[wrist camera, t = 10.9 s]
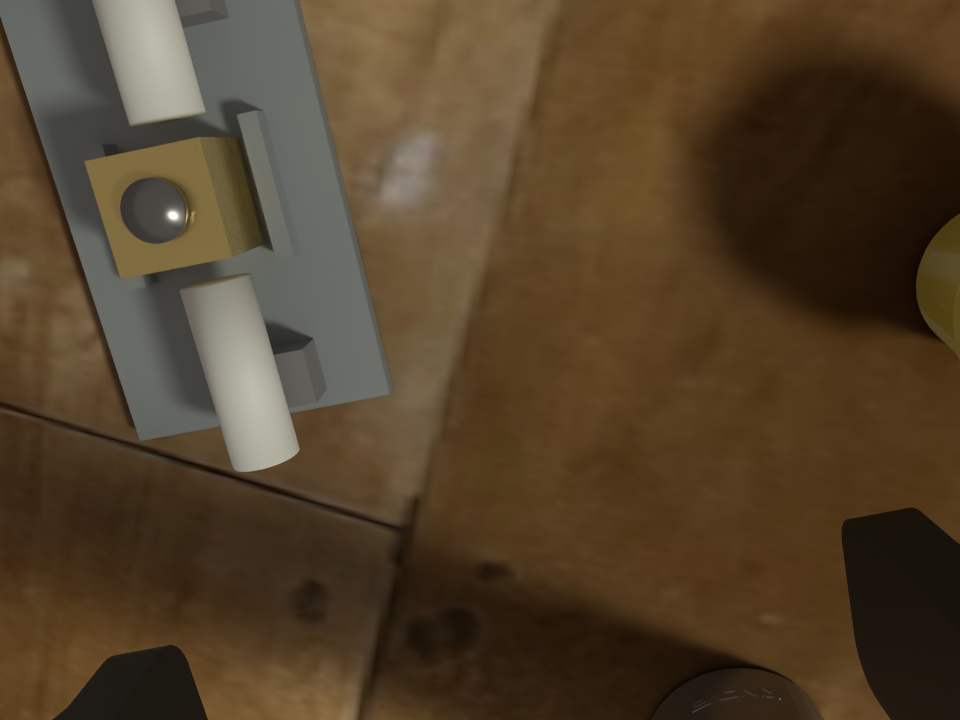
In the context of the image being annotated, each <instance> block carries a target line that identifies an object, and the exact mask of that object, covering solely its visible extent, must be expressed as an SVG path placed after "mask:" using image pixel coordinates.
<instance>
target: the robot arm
mask: <svg viewBox="0 0 960 720" xmlns="http://www.w3.org/2000/svg"><path fill="white" fill-rule="evenodd" d="M842 546H843V553H844V561H845V568H846V576H847V583H848V591H849V598H850V606H851V613H852V621H853V628H854V636H855V642H856V647H857V652H858V655H859V659H860V662H861V665H862V668H863V671H864V674H865V676H866V679H867V681H868V683H869V685H870V688H871V690H872V692H873V693H874V695H875V697H876V699H877V700H878V702H879V703H880V705H881V706H882V708H883V709H884V710H885V712H886V713H887V715H888V716H889V718H890V719H891V720H960V545H959V544H958V543H957V542H956V541H955V540H953V539H952V538H951V537H950V536H949V535H948V534H946V533H945V532H944V531H943V530H942V529H941V528H939V527H938V526H937V525H936V524H935V523H934V522H932V521H931V520H930V519H929V518H928V517H927V516H925V515H924V514H923V513H922V512H921V511H919V510H918V509H916V508H906V509H900V510H895V511H890V512H884V513H879V514H874V515H868V516H863V517H858V518H852V519H847V520H845V521H844V523H843V526H842ZM53 720H208V719H207V716H206V713H205V710H204V707H203V704H202V702H201V699H200V696H199V693H198V690H197V687H196V684H195V681H194V679H193V676H192V673H191V670H190V667H189V664H188V662H187V659H186V657H185V656H184V654H183V653H182V651H181V650H180V649H179V648H177V647H176V646H173V645H168V646H163V647H157V648H152V649H147V650H141V651H136V652H131V653H125V654H120V655H115V656H112V657H110V658H108V659H107V660H106V661H105V662H104V663H103V664H102V665H101V667H100V668H99V669H98V670H97V672H96V673H95V674H94V675H93V677H92V678H91V679H90V680H89V682H88V683H87V684H86V685H85V687H84V688H83V689H82V690H81V692H80V693H79V694H78V695H77V697H76V698H75V699H74V700H73V702H72V703H71V704H70V705H69V707H68V708H67V709H65V710H64V711H63V712H62V713H60V714H59V715H58V716H57V717H55V718H54V719H53ZM651 720H824V718H823V716H822V714H821V713H820V711H819V709H818V708H817V706H816V705H815V703H814V702H813V701H812V699H811V698H810V696H809V695H807V694H806V693H805V692H804V691H803V690H802V689H801V688H800V687H798V686H797V685H796V684H794V683H792V682H791V681H789V680H787V679H785V678H783V677H782V676H779V675H776V674H773V673H770V672H767V671H764V670H757V669H749V668H732V669H722V670H718V671H714V672H709V673H705V674H703V675H701V676H698V677H696V678H694V679H692V680H689V681H687V682H686V683H684V684H683V685H681V686H680V687H679V688H677V689H676V690H674V691H673V692H672V693H671V694H670V695H669V696H668V697H667V698H666V699H665V700H664V701H663V702H662V703H661V704H660V705H659V707H658V709H657V711H656V712H655V714H654V716H653V717H652V719H651Z"/></svg>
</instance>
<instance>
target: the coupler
mask: <svg viewBox="0 0 960 720" xmlns="http://www.w3.org/2000/svg"><path fill="white" fill-rule="evenodd" d="M84 162H85V165H86V168H87V172H88V175H89V178H90V181H91V185H92V188H93V191H94V194H95V198H96V201H97V204H98V207H99V211H100V214H101V217H102V220H103V224H104V227H105V230H106V233H107V237H108V240H109V243H110V246H111V249H112V253H113V256H114V259H115V262H116V266H117V269H118V272H119V275H120V279H125V278H130V277H135V276H140V275H145V274H150V273H155V272H160V271H166V270H171V269H176V268H181V267H186V266H191V265H196V264H201V263H206V262H211V261H217V260H222V259H227V258H232V257H234V256H237V255H239V254H242V253H244V252H247V251H249V250H251V249H254V248H256V247H259V246H261V245H264V244H266V243H267V242H266V238H265V235H264V231H263V227H262V223H261V219H260V215H259V212H258V208H257V204H256V200H255V196H254V192H253V189H252V185H251V181H250V177H249V173H248V169H247V166H246V162H245V158H244V154H243V150H242V146H241V142H240V139H239V138H236V137H197V138H192V139H188V140H183V141H178V142H173V143H169V144H164V145H159V146H154V147H150V148H145V149H140V150H135V151H131V152H126V153H121V154H116V155H112V156H107V157H102V158H97V159H92V160H88V161H84Z"/></svg>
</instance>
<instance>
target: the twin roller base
mask: <svg viewBox="0 0 960 720" xmlns="http://www.w3.org/2000/svg"><path fill="white" fill-rule="evenodd" d="M0 17H1V20H2V23H3V26H4V29H5V32H6V35H7V38H8V41H9V44H10V47H11V50H12V53H13V57H14V60H15V63H16V66H17V69H18V72H19V75H20V78H21V81H22V84H23V87H24V90H25V93H26V96H27V99H28V102H29V105H30V108H31V111H32V114H33V117H34V120H35V123H36V126H37V129H38V133H39V136H40V139H41V142H42V145H43V148H44V151H45V154H46V157H47V160H48V163H49V166H50V169H51V172H52V175H53V178H54V181H55V184H56V187H57V190H58V193H59V196H60V199H61V202H62V205H63V208H64V212H65V215H66V218H67V221H68V224H69V227H70V230H71V233H72V236H73V239H74V242H75V245H76V248H77V251H78V254H79V257H80V260H81V263H82V266H83V269H84V272H85V275H86V278H87V281H88V284H89V288H90V291H91V294H92V297H93V300H94V303H95V306H96V309H97V312H98V315H99V318H100V321H101V324H102V327H103V330H104V333H105V336H106V339H107V342H108V345H109V348H110V351H111V354H112V357H113V360H114V363H115V367H116V370H117V373H118V376H119V379H120V382H121V385H122V388H123V391H124V394H125V397H126V400H127V403H128V406H129V409H130V412H131V415H132V418H133V421H134V424H135V427H136V430H137V433H138V436H139V439H140V441H144V440H149V439H155V438H160V437H165V436H171V435H176V434H181V433H187V432H192V431H197V430H203V429H208V428H213V427H219V426H220V427H221V430H222V433H223V437H224V440H225V443H226V447H227V450H228V453H229V457H230V460H231V463H232V467H233V469H234V470H236V471H239V472H249V471H256V470H261V469H265V468H269V467H272V466H275V465H277V464H280V463H282V462H284V461H286V460H288V459H290V458H292V457H293V456H295V455H296V454H297V453H298V451H299V445H298V442H297V438H296V434H295V431H294V427H293V424H292V420H291V416H290V413H294V412H299V411H304V410H310V409H315V408H320V407H326V406H331V405H336V404H342V403H347V402H352V401H358V400H363V399H368V398H374V397H379V396H384V395H390V393H391V391H392V389H393V386H392V382H391V378H390V374H389V370H388V366H387V362H386V357H385V353H384V349H383V345H382V341H381V337H380V333H379V329H378V324H377V320H376V316H375V312H374V308H373V304H372V300H371V296H370V291H369V287H368V283H367V279H366V275H365V271H364V267H363V263H362V258H361V254H360V250H359V246H358V242H357V238H356V234H355V230H354V226H353V221H352V217H351V213H350V209H349V205H348V201H347V197H346V193H345V188H344V184H343V180H342V176H341V172H340V168H339V164H338V160H337V155H336V151H335V147H334V143H333V139H332V135H331V131H330V127H329V122H328V118H327V114H326V110H325V106H324V102H323V98H322V94H321V89H320V85H319V81H318V77H317V73H316V69H315V65H314V61H313V56H312V52H311V48H310V44H309V40H308V36H307V32H306V28H305V24H304V19H303V15H302V11H301V7H300V3H299V0H0ZM197 137H236V138H239V139H240V142H241V146H242V150H243V154H244V158H245V162H246V166H247V169H248V173H249V177H250V181H251V185H252V189H253V192H254V196H255V200H256V204H257V208H258V212H259V215H260V219H261V223H262V227H263V231H264V235H265V238H266V242H267V243H266V244H264V245H261V246H259V247H256V248H254V249H251V250H249V251H247V252H244V253H242V254H239V255H237V256H234V257H232V258H227V259H222V260H217V261H211V262H206V263H201V264H196V265H191V266H186V267H181V268H176V269H171V270H166V271H160V272H155V273H150V274H145V275H140V276H135V277H130V278H125V279H120V275H119V272H118V269H117V266H116V262H115V259H114V256H113V253H112V249H111V246H110V243H109V240H108V237H107V233H106V230H105V227H104V224H103V220H102V217H101V214H100V211H99V207H98V204H97V201H96V198H95V194H94V191H93V188H92V185H91V181H90V178H89V175H88V172H87V168H86V165H85V162H84V161H88V160H92V159H97V158H102V157H107V156H112V155H116V154H121V153H126V152H131V151H135V150H140V149H145V148H150V147H154V146H159V145H164V144H169V143H173V142H178V141H183V140H188V139H192V138H197Z"/></svg>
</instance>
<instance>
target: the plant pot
mask: <svg viewBox="0 0 960 720" xmlns="http://www.w3.org/2000/svg"><path fill="white" fill-rule="evenodd" d="M916 295H917V302H918V305H919V309H920V311H921V314H922V316H923V318H924V320H925V321H926V323H927V324H928V326H929V327H930V329H931V330H932V331H933V332H934V333H935V334H936V335H937V336H938V337H939V338H940V339H941V340H942V341H943V342H944V343H946V344H947V345H948V346H949V347H950V348H951V349H952V350H953V351H954V352H955V353H956V354H957V355H958V358H959V361H960V214H958V215H957V216H955V217H954V218H952V219H951V220H950V221H949V222H948V223H946V224H945V225H944V226H943V227H942V228H941V229H940V230H939V232H938V233H937V234H936V235H935V236H934V238H933V239H932V240H931V242H930V243H929V245H928V246H927V248H926V250H925V252H924V254H923V256H922V259H921V262H920V265H919V268H918V272H917V279H916Z"/></svg>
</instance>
